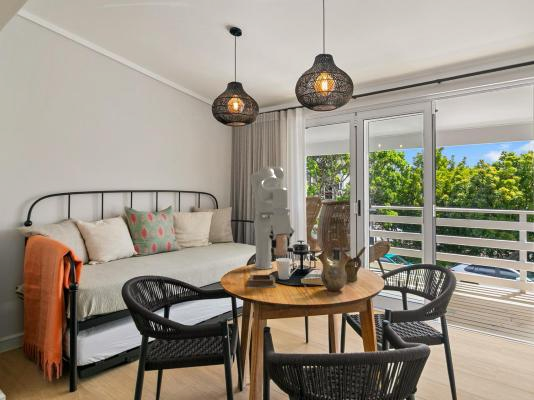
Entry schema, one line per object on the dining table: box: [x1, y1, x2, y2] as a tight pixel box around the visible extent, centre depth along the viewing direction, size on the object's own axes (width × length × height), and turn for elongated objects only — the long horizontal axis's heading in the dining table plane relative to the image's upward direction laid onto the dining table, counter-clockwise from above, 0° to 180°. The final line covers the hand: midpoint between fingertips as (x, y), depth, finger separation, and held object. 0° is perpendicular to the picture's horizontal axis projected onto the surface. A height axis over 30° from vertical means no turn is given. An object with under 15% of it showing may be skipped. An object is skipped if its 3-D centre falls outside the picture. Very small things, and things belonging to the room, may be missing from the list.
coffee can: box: [332, 246, 351, 264], centre depth 195 cm, size 10×10×14 cm
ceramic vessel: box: [316, 238, 352, 292], centre depth 160 cm, size 16×9×25 cm, turn 82°
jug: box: [273, 234, 288, 256], centre depth 168 cm, size 10×7×10 cm
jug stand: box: [246, 274, 277, 289], centre depth 170 cm, size 20×14×4 cm
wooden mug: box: [345, 246, 366, 283], centre depth 178 cm, size 9×14×18 cm, turn 81°
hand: (280, 246), depth 169 cm, fingers closed on jug, 6 cm apart
